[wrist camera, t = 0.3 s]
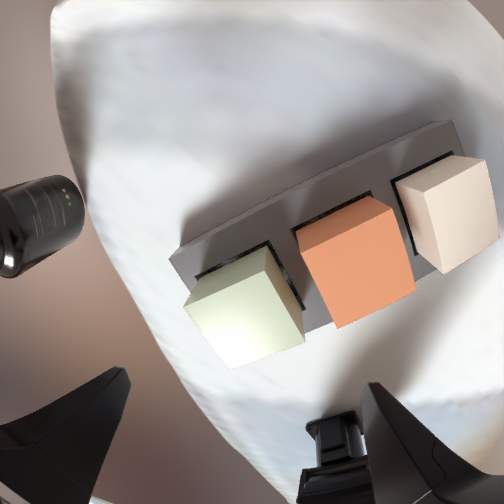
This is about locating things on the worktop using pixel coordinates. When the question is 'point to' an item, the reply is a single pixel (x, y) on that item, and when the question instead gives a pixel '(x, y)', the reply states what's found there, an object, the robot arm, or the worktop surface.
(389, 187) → the console
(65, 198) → the supplement bottle
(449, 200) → the cream button
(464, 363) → the worktop surface
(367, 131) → the worktop surface
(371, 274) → the terracotta button
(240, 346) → the sage button
